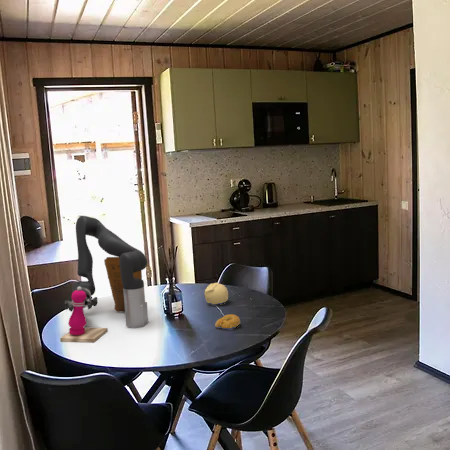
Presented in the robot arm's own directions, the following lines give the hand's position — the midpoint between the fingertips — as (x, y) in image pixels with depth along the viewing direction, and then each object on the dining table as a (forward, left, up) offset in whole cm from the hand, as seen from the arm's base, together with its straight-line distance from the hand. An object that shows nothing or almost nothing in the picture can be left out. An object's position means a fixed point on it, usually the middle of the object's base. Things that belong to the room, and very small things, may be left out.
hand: (80, 308), depth 199 cm
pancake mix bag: (-5, -38, -13) cm, 40 cm away
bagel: (-59, -18, -14) cm, 63 cm away
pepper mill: (+3, -1, -11) cm, 12 cm away
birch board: (0, -3, -13) cm, 13 cm away
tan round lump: (-47, -52, -13) cm, 71 cm away
